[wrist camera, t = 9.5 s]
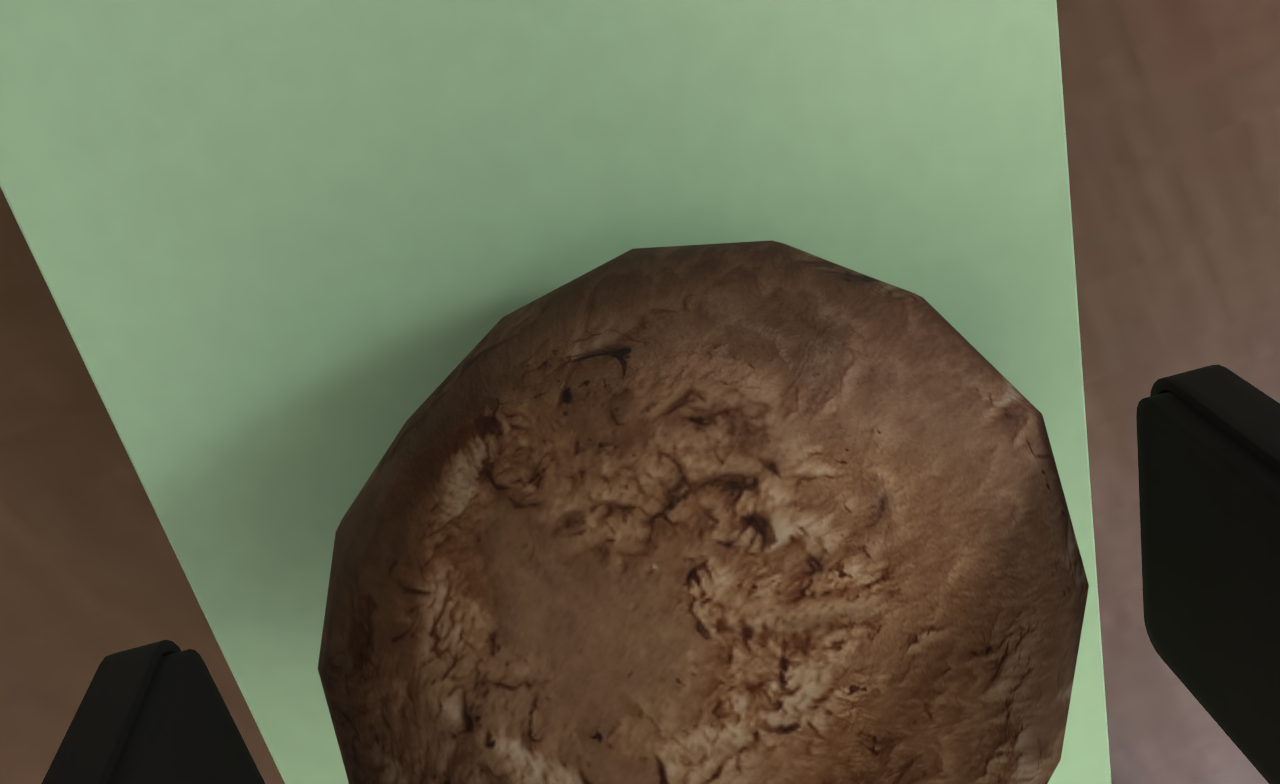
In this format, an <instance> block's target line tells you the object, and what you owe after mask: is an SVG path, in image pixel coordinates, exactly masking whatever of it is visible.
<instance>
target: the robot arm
mask: <svg viewBox="0 0 1280 784" xmlns="http://www.w3.org/2000/svg"><path fill="white" fill-rule="evenodd" d="M1137 440H1138V468H1139V495H1140V522H1141V549H1142V576H1143V603H1144V620H1145V626H1146V629H1147V633H1148V636H1149V638H1150V641H1151V643H1152V645H1153V646H1154V648H1155V650H1156V652H1157V653H1158V654H1159V656H1160V657H1161V658H1162V659H1163V661H1164V662H1165V663H1166V664H1167V665H1168V666H1169V668H1170V669H1171V670H1172V671H1173V672H1174V673H1175V675H1176V676H1177V677H1178V678H1179V679H1180V680H1181V682H1182V683H1183V684H1184V685H1185V686H1186V687H1187V689H1188V690H1189V691H1190V692H1191V693H1192V694H1193V696H1194V697H1195V698H1196V699H1197V700H1198V701H1199V703H1200V704H1201V705H1202V706H1203V707H1204V708H1205V709H1206V711H1207V712H1208V713H1209V714H1210V715H1211V716H1212V718H1213V719H1214V720H1215V721H1216V722H1217V723H1218V725H1219V726H1220V727H1221V728H1222V729H1223V730H1224V732H1225V733H1226V734H1227V735H1228V736H1229V737H1230V739H1231V740H1232V741H1233V742H1234V743H1235V744H1236V746H1237V747H1238V748H1239V749H1240V750H1241V751H1242V753H1243V754H1244V755H1245V756H1246V757H1247V758H1248V760H1249V761H1250V762H1251V763H1252V764H1253V765H1254V767H1255V768H1256V769H1257V770H1258V771H1259V772H1260V774H1261V775H1262V776H1263V777H1264V778H1265V779H1266V780H1267V782H1268V783H1269V784H1280V404H1279V403H1278V402H1276V401H1275V400H1273V399H1272V398H1270V397H1269V396H1267V395H1266V394H1264V393H1263V392H1261V391H1260V390H1258V389H1257V388H1255V387H1254V386H1252V385H1251V384H1249V383H1248V382H1246V381H1245V380H1243V379H1242V378H1241V377H1239V376H1238V375H1236V374H1235V373H1233V372H1232V371H1230V370H1229V369H1227V368H1225V367H1223V366H1220V365H1211V366H1207V367H1203V368H1200V369H1196V370H1192V371H1188V372H1184V373H1180V374H1177V375H1173V376H1169V377H1165V378H1161V379H1158V380H1157V381H1156V382H1155V383H1154V385H1153V387H1152V390H1151V397H1147V398H1144V399H1142V400H1141V401H1140V402H1139V404H1138V407H1137ZM42 784H265V782H264V780H263V778H262V776H261V774H260V772H259V771H258V769H257V767H256V765H255V763H254V761H253V759H252V757H251V755H250V753H249V751H248V749H247V747H246V745H245V743H244V741H243V739H242V737H241V735H240V733H239V731H238V729H237V727H236V725H235V723H234V721H233V719H232V717H231V715H230V713H229V711H228V709H227V707H226V705H225V703H224V701H223V699H222V697H221V695H220V693H219V691H218V689H217V687H216V685H215V683H214V681H213V679H212V677H211V675H210V673H209V671H208V669H207V667H206V665H205V663H204V661H203V659H202V658H201V656H200V655H199V654H198V653H197V652H196V651H195V650H192V649H188V650H185V651H181V650H180V648H179V647H178V646H177V645H176V644H175V643H174V642H172V641H169V640H164V641H160V642H156V643H152V644H148V645H144V646H141V647H137V648H133V649H129V650H125V651H122V652H118V653H114V654H111V655H109V656H106V657H105V658H104V659H103V661H102V662H101V664H100V665H99V667H98V669H97V671H96V673H95V676H94V678H93V680H92V682H91V684H90V686H89V688H88V690H87V692H86V694H85V696H84V698H83V700H82V702H81V704H80V706H79V708H78V710H77V712H76V714H75V717H74V719H73V721H72V723H71V725H70V727H69V729H68V731H67V733H66V735H65V737H64V739H63V741H62V743H61V745H60V747H59V749H58V751H57V753H56V755H55V758H54V760H53V762H52V764H51V766H50V768H49V770H48V772H47V774H46V776H45V778H44V780H43V782H42Z"/></svg>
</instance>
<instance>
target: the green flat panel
mask: <svg viewBox="0 0 1280 784" xmlns="http://www.w3.org/2000/svg"><path fill="white" fill-rule="evenodd" d="M0 187H1V189H2V191H3V193H4V196H5V198H6V200H7V202H8V204H9V206H10V208H11V210H12V212H13V214H14V217H15V219H16V221H17V223H18V225H19V227H20V229H21V231H22V233H23V235H24V237H25V240H26V242H27V244H28V246H29V248H30V250H31V252H32V254H33V256H34V258H35V261H36V263H37V265H38V267H39V269H40V271H41V273H42V275H43V277H44V279H45V282H46V284H47V286H48V288H49V290H50V292H51V294H52V296H53V298H54V300H55V302H56V305H57V307H58V309H59V311H60V313H61V315H62V317H63V319H64V321H65V323H66V326H67V328H68V330H69V332H70V334H71V336H72V338H73V340H74V342H75V344H76V346H77V349H78V351H79V353H80V355H81V357H82V359H83V361H84V363H85V365H86V367H87V370H88V372H89V374H90V376H91V378H92V380H93V382H94V384H95V386H96V388H97V391H98V393H99V395H100V397H101V399H102V401H103V403H104V405H105V407H106V409H107V411H108V414H109V416H110V418H111V420H112V422H113V424H114V426H115V428H116V430H117V432H118V435H119V437H120V439H121V441H122V443H123V445H124V447H125V449H126V451H127V453H128V456H129V458H130V460H131V462H132V464H133V466H134V468H135V470H136V472H137V474H138V476H139V479H140V481H141V483H142V485H143V487H144V489H145V491H146V493H147V495H148V497H149V500H150V502H151V504H152V506H153V508H154V510H155V512H156V514H157V516H158V518H159V521H160V523H161V525H162V527H163V529H164V531H165V533H166V535H167V537H168V539H169V541H170V544H171V546H172V548H173V550H174V552H175V554H176V556H177V558H178V560H179V562H180V565H181V567H182V569H183V571H184V573H185V575H186V577H187V579H188V581H189V583H190V586H191V588H192V590H193V592H194V594H195V596H196V598H197V600H198V602H199V604H200V606H201V609H202V611H203V613H204V615H205V617H206V619H207V621H208V623H209V625H210V627H211V630H212V632H213V634H214V636H215V638H216V640H217V642H218V644H219V646H220V648H221V651H222V653H223V655H224V657H225V659H226V661H227V663H228V665H229V667H230V669H231V671H232V674H233V676H234V678H235V680H236V682H237V684H238V686H239V688H240V690H241V692H242V695H243V697H244V699H245V701H246V703H247V705H248V707H249V709H250V711H251V713H252V716H253V718H254V720H255V722H256V724H257V726H258V728H259V730H260V732H261V734H262V736H263V739H264V741H265V743H266V745H267V747H268V749H269V751H270V753H271V755H272V757H273V760H274V762H275V764H276V766H277V768H278V770H279V772H280V774H281V776H282V778H283V781H284V783H285V784H349V782H348V778H347V775H346V771H345V767H344V764H343V760H342V756H341V753H340V749H339V745H338V741H337V738H336V734H335V730H334V727H333V723H332V719H331V716H330V712H329V708H328V705H327V701H326V697H325V694H324V690H323V686H322V683H321V679H320V675H319V672H318V662H319V654H320V647H321V639H322V632H323V624H324V617H325V609H326V602H327V594H328V586H329V579H330V571H331V564H332V556H333V549H334V541H335V533H336V530H337V528H338V526H339V524H340V522H341V520H342V518H343V517H344V515H345V514H346V512H347V511H348V509H349V508H350V506H351V505H352V503H353V502H354V500H355V499H356V497H357V496H358V494H359V493H360V491H361V489H362V488H363V486H364V485H365V483H366V482H367V480H368V479H369V477H370V476H371V474H372V473H373V471H374V470H375V468H376V467H377V465H378V463H379V462H380V460H381V459H382V457H383V456H384V454H385V453H386V451H387V450H388V448H389V447H390V445H391V444H392V442H393V441H394V439H395V438H396V436H397V434H398V433H399V431H400V430H401V428H402V427H403V425H404V424H405V422H406V421H407V420H408V419H409V418H410V417H411V415H412V414H413V413H414V412H415V411H416V410H417V409H418V408H419V407H420V406H421V405H422V404H423V402H424V401H425V400H426V399H427V398H428V397H429V396H430V395H431V394H432V393H433V392H434V391H435V390H436V388H437V387H438V386H439V385H440V384H441V383H442V382H443V381H444V380H445V379H446V378H447V377H448V375H449V374H450V373H451V372H452V371H453V370H454V369H455V368H456V367H457V366H458V365H459V364H460V363H461V361H462V360H463V359H464V358H465V357H466V356H467V355H468V354H469V353H470V352H471V351H472V350H473V349H474V347H475V346H476V345H477V344H478V343H479V342H480V341H481V340H482V339H483V338H484V337H485V336H486V335H487V333H488V332H489V331H490V330H491V329H492V328H493V327H494V326H495V325H496V324H497V323H498V322H499V320H500V319H501V318H502V317H504V316H506V315H508V314H510V313H512V312H513V311H515V310H517V309H519V308H521V307H523V306H525V305H527V304H529V303H530V302H532V301H534V300H536V299H538V298H540V297H542V296H544V295H546V294H548V293H549V292H551V291H553V290H555V289H557V288H559V287H561V286H563V285H565V284H567V283H568V282H570V281H572V280H574V279H576V278H578V277H580V276H582V275H584V274H585V273H587V272H589V271H591V270H593V269H595V268H597V267H599V266H601V265H603V264H604V263H606V262H608V261H610V260H612V259H614V258H616V257H618V256H620V255H622V254H623V253H625V252H627V251H629V250H631V249H635V248H652V247H669V246H686V245H703V244H720V243H737V242H754V241H771V240H772V241H776V242H780V243H784V244H787V245H789V246H792V247H794V248H797V249H800V250H802V251H805V252H807V253H810V254H812V255H815V256H818V257H820V258H823V259H825V260H828V261H830V262H833V263H836V264H838V265H841V266H843V267H846V268H848V269H851V270H854V271H856V272H859V273H861V274H864V275H866V276H869V277H872V278H875V279H877V280H880V281H883V282H885V283H888V284H891V285H893V286H896V287H899V288H902V289H904V290H907V291H910V292H912V293H915V294H917V295H919V296H921V297H923V298H924V299H925V300H926V301H927V302H928V303H929V304H930V305H931V306H932V307H933V308H934V309H935V310H936V311H937V312H938V313H939V314H940V315H942V316H943V317H944V318H945V319H946V320H947V321H948V322H949V323H950V324H951V325H952V326H953V327H954V328H955V329H956V330H957V331H958V332H959V333H960V334H961V335H962V336H963V337H964V338H965V339H966V340H967V341H968V342H969V343H970V344H971V345H972V346H973V347H974V348H975V349H976V350H977V351H978V352H979V353H980V354H981V355H982V356H983V357H984V358H985V359H986V360H987V361H988V362H989V363H991V364H992V365H993V366H994V367H995V368H996V369H997V370H998V371H999V372H1000V373H1001V374H1002V375H1003V376H1004V377H1005V378H1006V379H1007V380H1008V381H1009V382H1010V383H1011V384H1012V385H1013V386H1014V387H1015V388H1016V389H1017V390H1018V391H1019V392H1020V393H1021V394H1022V395H1023V396H1024V397H1025V398H1026V399H1027V400H1028V401H1029V402H1030V403H1031V404H1032V405H1033V406H1034V407H1035V408H1036V409H1037V410H1038V411H1039V412H1041V413H1042V415H1043V419H1044V422H1045V426H1046V430H1047V433H1048V437H1049V441H1050V444H1051V448H1052V452H1053V455H1054V459H1055V463H1056V466H1057V470H1058V474H1059V478H1060V481H1061V485H1062V489H1063V492H1064V496H1065V500H1066V503H1067V507H1068V511H1069V514H1070V518H1071V522H1072V525H1073V529H1074V533H1075V536H1076V540H1077V544H1078V547H1079V551H1080V555H1081V558H1082V562H1083V566H1084V569H1085V573H1086V577H1087V580H1088V584H1089V588H1088V595H1087V601H1086V607H1085V613H1084V619H1083V625H1082V631H1081V637H1080V644H1079V650H1078V656H1077V662H1076V668H1075V674H1074V680H1073V687H1072V693H1071V699H1070V705H1069V711H1068V717H1067V723H1066V730H1065V736H1064V742H1063V748H1062V754H1061V760H1060V762H1059V764H1058V765H1057V767H1056V769H1055V771H1054V773H1053V774H1052V776H1051V778H1050V780H1049V782H1048V783H1047V784H1111V771H1110V757H1109V743H1108V729H1107V714H1106V700H1105V686H1104V672H1103V657H1102V643H1101V629H1100V615H1099V600H1098V586H1097V572H1096V558H1095V544H1094V529H1093V515H1092V501H1091V487H1090V472H1089V458H1088V444H1087V430H1086V415H1085V401H1084V387H1083V373H1082V358H1081V344H1080V330H1079V316H1078V301H1077V287H1076V273H1075V259H1074V244H1073V230H1072V216H1071V202H1070V187H1069V173H1068V159H1067V145H1066V130H1065V116H1064V102H1063V88H1062V74H1061V59H1060V45H1059V31H1058V17H1057V2H1056V0H0Z"/></svg>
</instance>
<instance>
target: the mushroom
mask: <svg viewBox="0 0 1280 784" xmlns="http://www.w3.org/2000/svg"><path fill="white" fill-rule="evenodd" d="M1088 588H1089V584H1088V580H1087V577H1086V573H1085V569H1084V566H1083V562H1082V558H1081V555H1080V551H1079V547H1078V544H1077V540H1076V536H1075V533H1074V529H1073V525H1072V522H1071V518H1070V514H1069V511H1068V507H1067V503H1066V500H1065V496H1064V492H1063V489H1062V485H1061V481H1060V478H1059V474H1058V470H1057V466H1056V463H1055V459H1054V455H1053V452H1052V448H1051V444H1050V441H1049V437H1048V433H1047V430H1046V426H1045V422H1044V419H1043V415H1042V413H1041V412H1039V411H1038V410H1037V409H1036V408H1035V407H1034V406H1033V405H1032V404H1031V403H1030V402H1029V401H1028V400H1027V399H1026V398H1025V397H1024V396H1023V395H1022V394H1021V393H1020V392H1019V391H1018V390H1017V389H1016V388H1015V387H1014V386H1013V385H1012V384H1011V383H1010V382H1009V381H1008V380H1007V379H1006V378H1005V377H1004V376H1003V375H1002V374H1001V373H1000V372H999V371H998V370H997V369H996V368H995V367H994V366H993V365H992V364H991V363H989V362H988V361H987V360H986V359H985V358H984V357H983V356H982V355H981V354H980V353H979V352H978V351H977V350H976V349H975V348H974V347H973V346H972V345H971V344H970V343H969V342H968V341H967V340H966V339H965V338H964V337H963V336H962V335H961V334H960V333H959V332H958V331H957V330H956V329H955V328H954V327H953V326H952V325H951V324H950V323H949V322H948V321H947V320H946V319H945V318H944V317H943V316H942V315H940V314H939V313H938V312H937V311H936V310H935V309H934V308H933V307H932V306H931V305H930V304H929V303H928V302H927V301H926V300H925V299H924V298H923V297H921V296H919V295H917V294H915V293H912V292H910V291H907V290H904V289H902V288H899V287H896V286H893V285H891V284H888V283H885V282H883V281H880V280H877V279H875V278H872V277H869V276H866V275H864V274H861V273H859V272H856V271H854V270H851V269H848V268H846V267H843V266H841V265H838V264H836V263H833V262H830V261H828V260H825V259H823V258H820V257H818V256H815V255H812V254H810V253H807V252H805V251H802V250H800V249H797V248H794V247H792V246H789V245H787V244H784V243H780V242H776V241H772V240H771V241H754V242H737V243H720V244H703V245H686V246H669V247H652V248H635V249H631V250H629V251H627V252H625V253H623V254H622V255H620V256H618V257H616V258H614V259H612V260H610V261H608V262H606V263H604V264H603V265H601V266H599V267H597V268H595V269H593V270H591V271H589V272H587V273H585V274H584V275H582V276H580V277H578V278H576V279H574V280H572V281H570V282H568V283H567V284H565V285H563V286H561V287H559V288H557V289H555V290H553V291H551V292H549V293H548V294H546V295H544V296H542V297H540V298H538V299H536V300H534V301H532V302H530V303H529V304H527V305H525V306H523V307H521V308H519V309H517V310H515V311H513V312H512V313H510V314H508V315H506V316H504V317H502V318H501V319H500V320H499V322H498V323H497V324H496V325H495V326H494V327H493V328H492V329H491V330H490V331H489V332H488V333H487V335H486V336H485V337H484V338H483V339H482V340H481V341H480V342H479V343H478V344H477V345H476V346H475V347H474V349H473V350H472V351H471V352H470V353H469V354H468V355H467V356H466V357H465V358H464V359H463V360H462V361H461V363H460V364H459V365H458V366H457V367H456V368H455V369H454V370H453V371H452V372H451V373H450V374H449V375H448V377H447V378H446V379H445V380H444V381H443V382H442V383H441V384H440V385H439V386H438V387H437V388H436V390H435V391H434V392H433V393H432V394H431V395H430V396H429V397H428V398H427V399H426V400H425V401H424V402H423V404H422V405H421V406H420V407H419V408H418V409H417V410H416V411H415V412H414V413H413V414H412V415H411V417H410V418H409V419H408V420H407V421H406V422H405V424H404V425H403V427H402V428H401V430H400V431H399V433H398V434H397V436H396V438H395V439H394V441H393V442H392V444H391V445H390V447H389V448H388V450H387V451H386V453H385V454H384V456H383V457H382V459H381V460H380V462H379V463H378V465H377V467H376V468H375V470H374V471H373V473H372V474H371V476H370V477H369V479H368V480H367V482H366V483H365V485H364V486H363V488H362V489H361V491H360V493H359V494H358V496H357V497H356V499H355V500H354V502H353V503H352V505H351V506H350V508H349V509H348V511H347V512H346V514H345V515H344V517H343V518H342V520H341V522H340V524H339V526H338V528H337V530H336V533H335V541H334V549H333V556H332V564H331V571H330V579H329V586H328V594H327V602H326V609H325V617H324V624H323V632H322V639H321V647H320V654H319V662H318V672H319V675H320V679H321V683H322V686H323V690H324V694H325V697H326V701H327V705H328V708H329V712H330V716H331V719H332V723H333V727H334V730H335V734H336V738H337V741H338V745H339V749H340V753H341V756H342V760H343V764H344V767H345V771H346V775H347V778H348V782H349V784H1047V783H1048V782H1049V780H1050V778H1051V776H1052V774H1053V773H1054V771H1055V769H1056V767H1057V765H1058V764H1059V762H1060V760H1061V754H1062V748H1063V742H1064V736H1065V730H1066V723H1067V717H1068V711H1069V705H1070V699H1071V693H1072V687H1073V680H1074V674H1075V668H1076V662H1077V656H1078V650H1079V644H1080V637H1081V631H1082V625H1083V619H1084V613H1085V607H1086V601H1087V595H1088Z"/></svg>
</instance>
